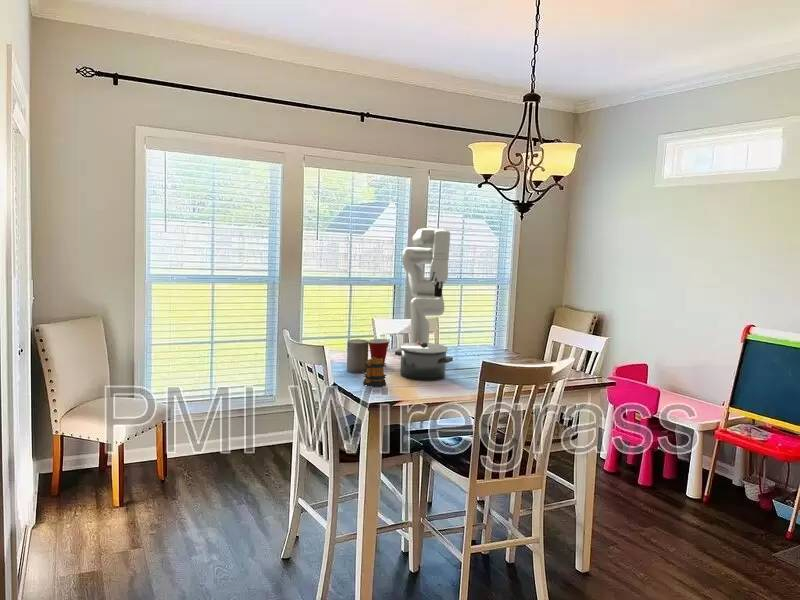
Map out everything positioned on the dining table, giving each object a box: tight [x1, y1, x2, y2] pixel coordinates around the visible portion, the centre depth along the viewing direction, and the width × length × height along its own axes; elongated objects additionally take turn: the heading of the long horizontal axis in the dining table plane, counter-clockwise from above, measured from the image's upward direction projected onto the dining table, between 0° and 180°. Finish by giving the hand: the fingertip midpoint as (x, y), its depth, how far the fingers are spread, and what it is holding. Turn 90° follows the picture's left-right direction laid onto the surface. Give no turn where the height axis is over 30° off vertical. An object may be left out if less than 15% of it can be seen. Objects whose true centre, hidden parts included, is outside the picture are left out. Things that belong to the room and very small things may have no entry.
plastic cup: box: [367, 338, 391, 363], centre depth 300 cm, size 11×11×12 cm
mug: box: [362, 357, 387, 388], centre depth 259 cm, size 13×10×12 cm
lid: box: [400, 341, 448, 354], centre depth 280 cm, size 21×22×3 cm
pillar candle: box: [346, 338, 369, 374], centre depth 284 cm, size 10×10×15 cm
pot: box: [394, 348, 454, 382], centre depth 281 cm, size 26×20×12 cm
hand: (438, 296), depth 292 cm, fingers closed
